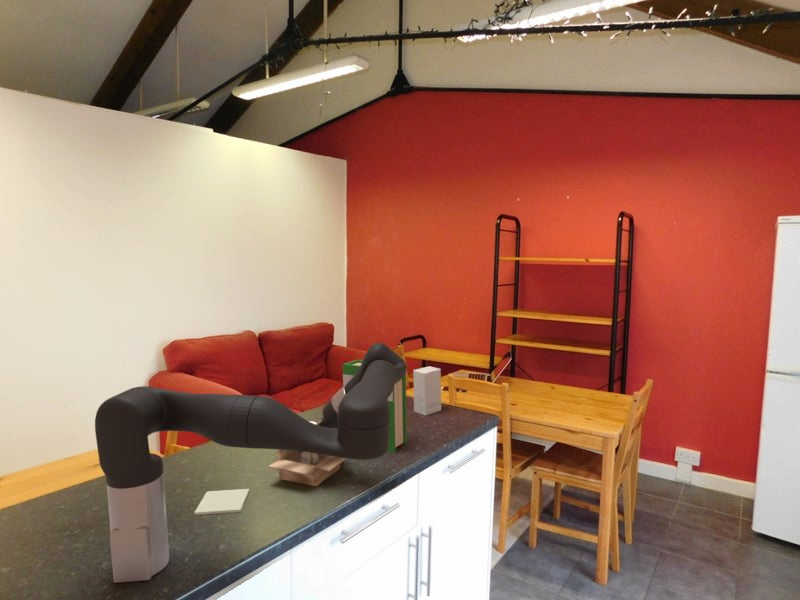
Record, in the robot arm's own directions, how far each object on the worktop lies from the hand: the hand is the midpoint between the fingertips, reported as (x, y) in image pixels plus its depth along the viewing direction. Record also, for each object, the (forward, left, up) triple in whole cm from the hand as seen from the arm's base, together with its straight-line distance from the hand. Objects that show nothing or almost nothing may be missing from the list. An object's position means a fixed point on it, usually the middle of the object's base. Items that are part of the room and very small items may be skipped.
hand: (308, 444), depth 132 cm
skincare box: (+46, -38, -8) cm, 60 cm away
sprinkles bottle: (0, 0, -8) cm, 8 cm away
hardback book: (+19, -18, -8) cm, 27 cm away
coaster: (-13, +19, -8) cm, 24 cm away
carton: (-1, -2, -8) cm, 8 cm away
